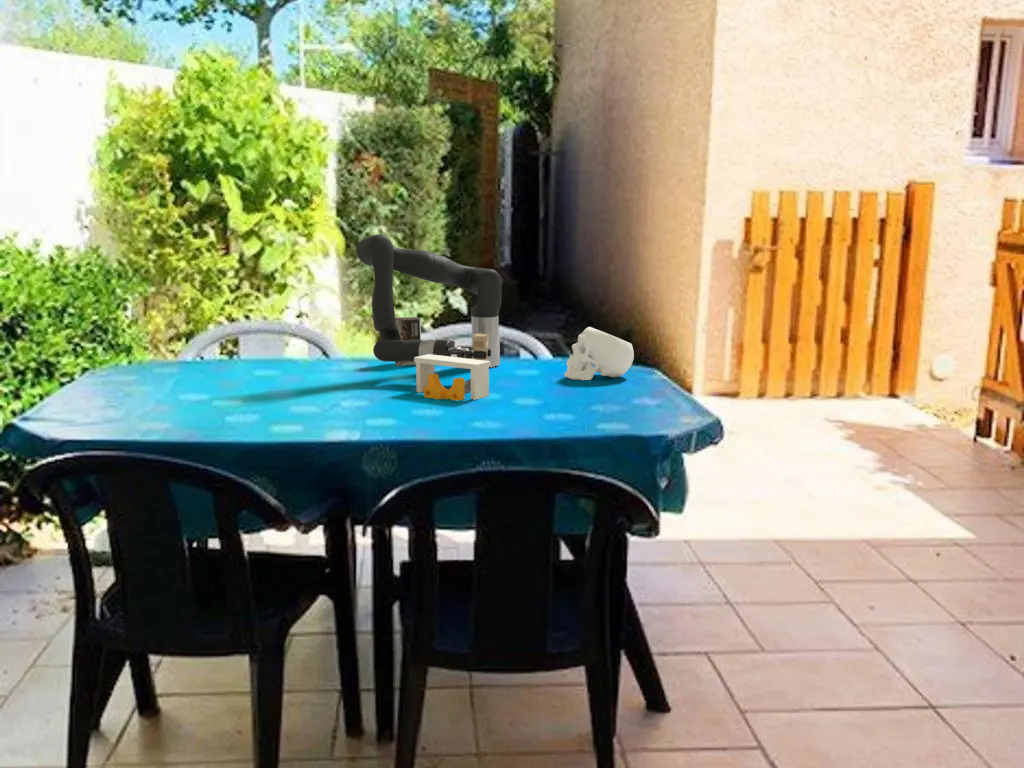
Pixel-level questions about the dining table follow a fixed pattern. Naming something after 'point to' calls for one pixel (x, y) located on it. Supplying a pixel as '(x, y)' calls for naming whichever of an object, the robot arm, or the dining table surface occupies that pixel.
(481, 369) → the shelf
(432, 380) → the pipe clamp
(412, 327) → the coffee box
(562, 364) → the dining table surface
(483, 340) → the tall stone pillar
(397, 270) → the robot arm
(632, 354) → the skull planter
